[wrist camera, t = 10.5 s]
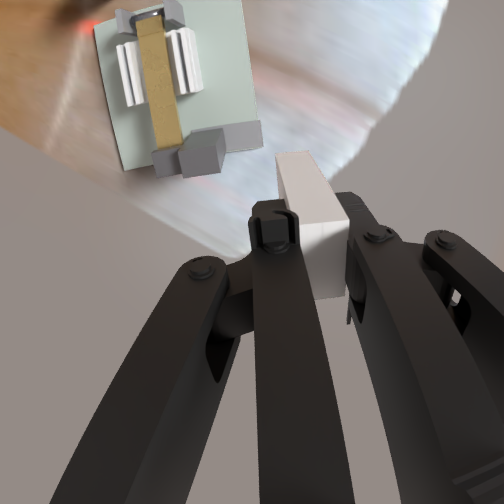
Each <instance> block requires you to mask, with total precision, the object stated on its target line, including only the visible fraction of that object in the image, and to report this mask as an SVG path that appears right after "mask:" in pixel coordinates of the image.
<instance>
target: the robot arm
mask: <svg viewBox="0 0 504 504" xmlns="http://www.w3.org/2000/svg"><path fill="white" fill-rule="evenodd" d="M275 159H276V169H277V180H278V191H279V199H276V200H267V201H257V203H256V204H255V205H254V206H253V208H252V216H251V217H250V218H249V221H248V228H249V235H250V242H251V249H252V251H251V252H250V254H249V255H247V256H246V257H245V258H243V259H242V260H240V261H237V262H235V263H232V264H229V265H226V264H225V262H224V261H223V260H221V259H220V258H218V257H214V256H203V257H202V256H201V257H197V258H194V259H191V260H189V261H188V262H186V263H184V264H183V265H182V266H181V267H180V268H179V269H178V271H177V273H176V274H175V276H174V277H173V279H172V281H171V282H170V284H169V285H168V287H167V289H166V290H165V292H164V294H163V295H162V297H161V298H160V300H159V302H158V304H157V305H156V307H155V308H154V310H153V312H152V313H151V315H150V317H149V318H148V320H147V322H146V323H145V325H144V327H143V328H142V330H141V332H140V333H139V336H138V337H137V339H136V341H135V342H134V344H133V345H132V347H131V349H130V351H129V352H128V354H127V356H126V358H125V359H124V361H123V363H122V365H121V366H120V368H119V370H118V372H117V373H116V375H115V377H114V379H113V381H112V382H111V384H110V386H109V388H108V390H107V391H106V393H105V395H104V397H103V399H102V401H101V402H100V404H99V406H98V408H97V410H96V412H95V413H94V415H93V417H92V419H91V421H90V423H89V425H88V427H87V428H86V431H85V432H84V434H83V436H82V438H81V440H80V442H79V444H78V446H77V448H76V450H75V452H74V454H73V456H72V458H71V460H70V462H69V464H68V466H67V468H66V470H65V472H64V474H63V476H62V478H61V480H60V482H59V484H58V486H57V488H56V490H55V493H54V495H53V497H52V499H51V501H50V503H49V504H185V503H186V500H187V497H188V495H189V492H190V489H191V486H192V483H193V480H194V477H195V474H196V472H197V469H198V466H199V463H200V460H201V457H202V454H203V451H204V448H205V445H206V442H207V439H208V436H209V434H210V431H211V427H212V425H213V422H214V418H215V416H216V413H217V410H218V407H219V404H220V401H221V398H222V395H223V392H224V389H225V386H226V383H227V379H228V377H229V374H230V370H231V367H232V364H233V361H234V358H235V355H236V352H237V349H238V346H239V343H240V338H241V335H243V334H246V333H249V332H252V331H254V338H255V339H254V340H255V370H256V400H257V401H256V403H257V430H258V431H257V432H258V462H259V463H258V464H259V493H260V494H259V495H260V504H355V500H354V493H353V488H352V481H351V476H350V470H349V463H348V458H347V452H346V447H345V441H344V436H343V430H342V425H341V420H340V415H339V410H338V405H337V400H336V395H335V390H334V385H333V380H332V376H331V371H330V367H329V362H328V357H327V353H326V348H325V344H324V339H323V335H322V331H321V326H320V322H319V318H318V313H317V309H316V305H315V301H314V300H317V299H326V298H334V297H341V296H345V287H346V284H347V287H348V290H349V302H348V311H347V324H350V321H351V317H352V319H353V322H354V325H355V328H356V331H357V334H358V337H359V340H360V344H361V347H362V350H363V353H364V357H365V360H366V363H367V367H368V370H369V374H370V377H371V380H372V384H373V388H374V391H375V395H376V398H377V402H378V405H379V409H380V413H381V417H382V420H383V425H384V429H385V432H386V436H387V440H388V444H389V449H390V453H391V457H392V461H393V466H394V470H395V475H396V479H397V484H398V489H399V493H400V499H401V504H504V272H502V271H501V270H500V269H499V268H498V267H497V266H495V265H494V264H493V263H492V262H491V261H489V260H488V259H487V258H486V257H485V256H483V255H482V254H481V253H480V252H479V251H477V250H476V249H475V248H474V247H472V246H471V245H470V244H469V243H467V242H466V241H465V240H464V239H462V238H461V237H459V236H458V235H456V234H454V233H451V232H449V231H446V230H444V231H443V230H436V231H431V232H429V233H427V235H426V237H425V240H424V244H417V243H407V242H403V241H402V239H401V238H400V237H399V235H398V234H397V233H396V232H395V231H394V230H393V229H391V228H389V227H387V226H383V225H379V224H378V222H377V221H376V219H375V218H374V216H373V215H372V213H371V212H370V211H369V210H368V208H367V206H366V205H365V204H364V202H363V201H362V199H361V198H360V197H359V196H357V195H355V194H354V193H352V192H342V193H334V192H333V190H332V189H331V187H330V185H329V184H328V182H327V180H326V179H325V177H324V175H323V174H322V172H321V170H320V169H319V167H318V165H317V164H316V162H315V160H314V159H313V157H312V156H311V154H310V152H309V151H296V152H285V153H275ZM455 289H456V290H457V291H458V292H459V293H460V294H461V298H460V300H459V303H458V304H457V303H455V302H454V301H453V300H452V296H453V293H454V290H455Z"/></svg>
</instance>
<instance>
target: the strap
mask: <svg viewBox="0 0 504 504" xmlns="http://www.w3.org/2000/svg"><path fill="white" fill-rule="evenodd" d="M164 18H165V12H164V7H162V8H158V9H154V10H151V11H147V12H144V13H140V14H137V15H134V16H131V23H132V25H133V26H136V29H137V36H138V39H139V46H140V53H141V59H142V66H143V72H144V78H145V84H146V90H147V95H148V101H149V106H150V112H151V117H152V122H153V128H154V133H155V138H156V143H157V147H158V149H163V148H168V147H174V146H179V145H183V144H184V140H183V135H182V129H181V124H180V118H179V112H178V107H177V101H176V95H175V89H174V83H173V77H172V71H171V65H170V58H169V52H168V45H167V38H166V29H165V22H164Z"/></svg>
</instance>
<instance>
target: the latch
mask: <svg viewBox="0 0 504 504" xmlns="http://www.w3.org/2000/svg"><path fill="white" fill-rule="evenodd" d="M226 150H227V149H226V143H225V137H224V131H223V128H219V129H212V130H206V131H200V132H194V133H192V134H191V135H190V137H189V138H188V139H187V140H186V142H185V143H184V144H183V145H179V146H174V147H168V148H163V149H158V150H154V151H153V152H152V153H151V156H152V160H153V165H154V169H155V173H156V177H157V178H160V177H166V176H171V175H177V174H182V175H183V178H189V177H195V176H202V175H209V174H215V173H221V169H222V165H223V161H224V157H225V154H226Z"/></svg>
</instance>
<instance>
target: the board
mask: <svg viewBox="0 0 504 504" xmlns="http://www.w3.org/2000/svg"><path fill="white" fill-rule="evenodd" d="M162 7H164V12H165V18H164V22H165V29H166V38H167V45H168V52H169V58H170V65H171V71H172V77H173V83H174V89H175V95H176V101H177V107H178V112H179V118H180V124H181V129H182V135H183V140H184V143H185V142H186V140H187V139H188V138H189V137H190V135H191V134H192V133H194V132H200V131H206V130H212V129H219V128H223V131H224V137H225V143H226V149H227V150H226V152H233V151H240V150H248V149H256V148H262V147H263V138H262V130H261V123H260V120H258V115H257V107H256V100H255V93H254V85H253V78H252V71H251V64H250V57H249V50H248V43H247V37H246V30H245V23H244V17H243V10H242V4H241V0H163V4H159V5H156V6H152V7H148V8H145V9H141V10H138V11H135V12H129V11H127V10H124V9H121V8H120V9H117V10H115V15H116V18H114V19H111V20H108V21H105V22H102V23H100V24H97V25H95V26H94V32H95V38H96V44H97V50H98V56H99V62H100V67H101V72H102V78H103V83H104V88H105V92H106V97H107V102H108V106H109V111H110V115H111V120H112V124H113V128H114V132H115V136H116V140H117V144H118V148H119V152H120V156H121V160H122V164H123V167H124V171H126V170H130V169H135V168H140V167H145V166H150V165H153V160H152V156H151V153H152V152H153V151H154V150H158V147H157V143H156V138H155V133H154V128H153V122H152V117H151V112H150V106H149V101H148V95H147V90H146V84H145V78H144V72H143V66H142V59H141V53H140V46H139V39H138V36H137V29H136V26H133V25H132V23H131V16H134V15H137V14H140V13H144V12H147V11H151V10H154V9H158V8H162Z"/></svg>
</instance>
